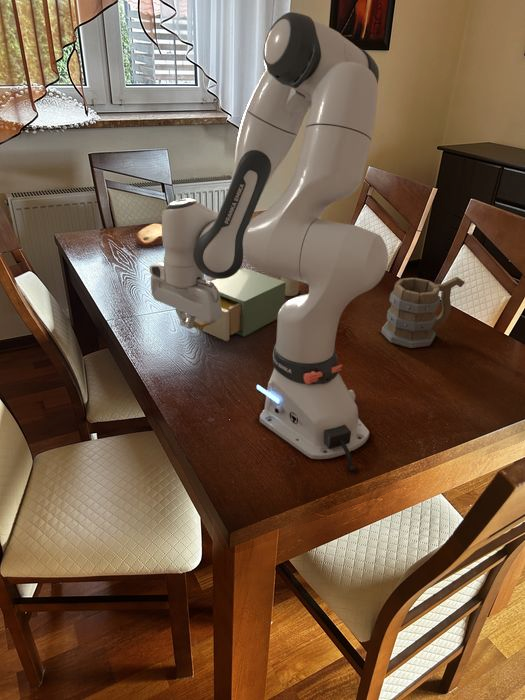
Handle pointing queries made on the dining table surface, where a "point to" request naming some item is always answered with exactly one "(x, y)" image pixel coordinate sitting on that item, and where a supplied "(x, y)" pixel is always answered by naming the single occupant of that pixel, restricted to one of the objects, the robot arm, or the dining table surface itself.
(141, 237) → the slice of bread
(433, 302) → the tankard
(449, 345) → the dining table surface
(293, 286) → the candle
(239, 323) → the drawer
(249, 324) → the cabinet
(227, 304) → the matchbox
